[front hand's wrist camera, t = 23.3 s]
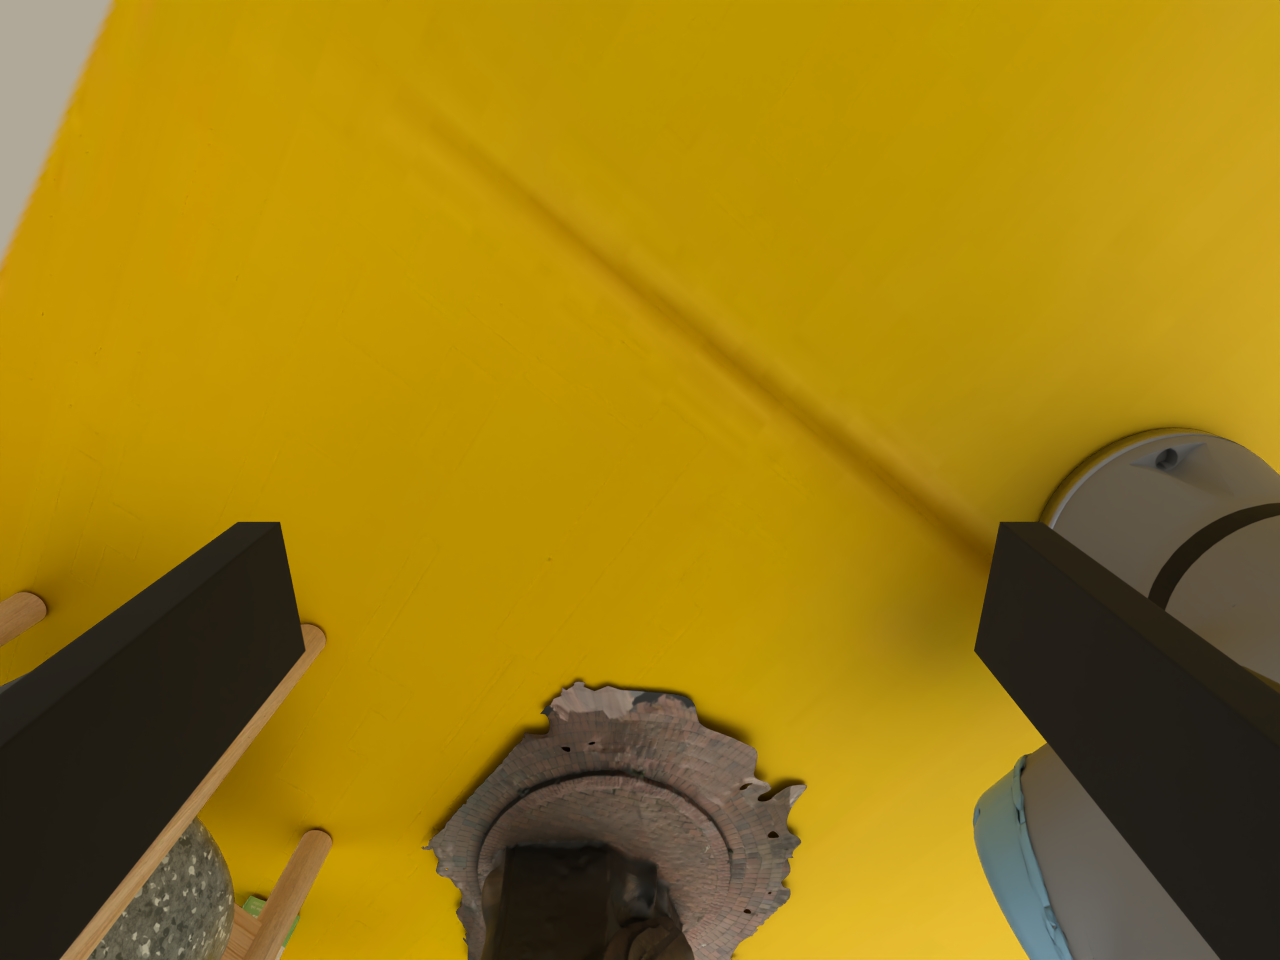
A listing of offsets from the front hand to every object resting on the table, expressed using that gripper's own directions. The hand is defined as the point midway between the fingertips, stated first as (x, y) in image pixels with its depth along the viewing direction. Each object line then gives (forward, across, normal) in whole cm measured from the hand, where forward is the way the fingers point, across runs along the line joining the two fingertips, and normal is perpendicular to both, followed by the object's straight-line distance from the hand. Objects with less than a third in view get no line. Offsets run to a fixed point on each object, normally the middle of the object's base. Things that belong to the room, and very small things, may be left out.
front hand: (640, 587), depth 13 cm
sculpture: (+32, +2, +44) cm, 54 cm away
